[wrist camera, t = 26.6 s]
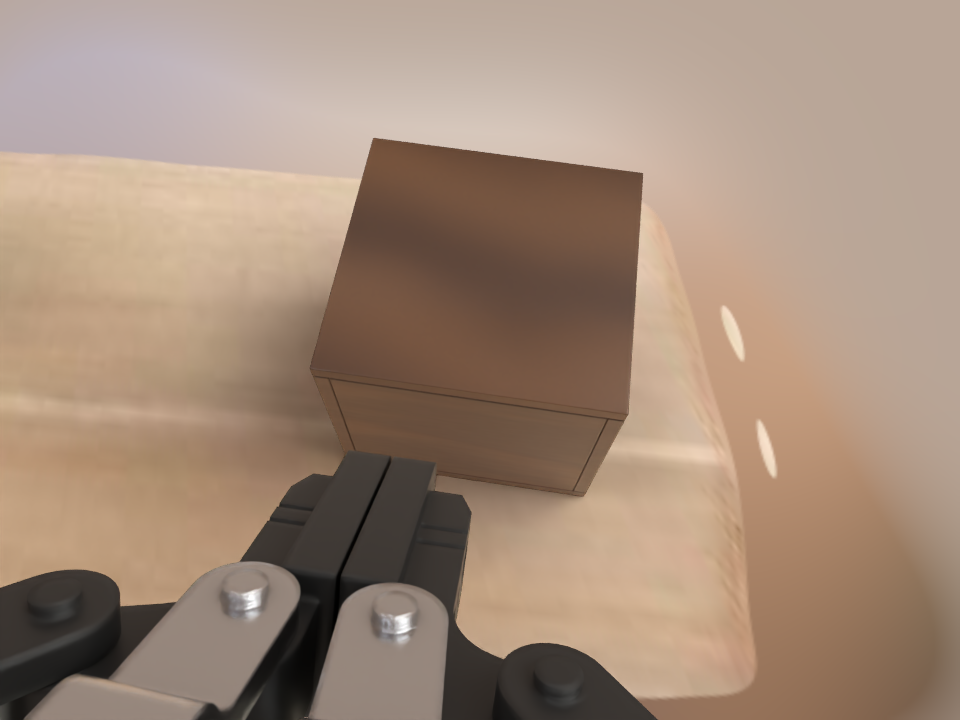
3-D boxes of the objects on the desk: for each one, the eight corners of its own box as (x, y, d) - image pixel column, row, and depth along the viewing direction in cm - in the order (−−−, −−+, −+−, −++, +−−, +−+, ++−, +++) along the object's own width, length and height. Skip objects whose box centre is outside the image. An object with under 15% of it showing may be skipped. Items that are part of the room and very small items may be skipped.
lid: (374, 147, 42) (373, 137, 42) (640, 182, 42) (643, 172, 41) (312, 376, 36) (309, 368, 35) (625, 421, 35) (628, 414, 35)
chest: (389, 281, 54) (371, 159, 42) (600, 310, 53) (639, 195, 41) (347, 461, 48) (312, 376, 36) (584, 496, 47) (624, 421, 35)
